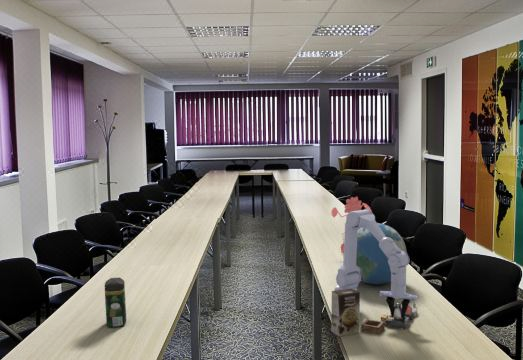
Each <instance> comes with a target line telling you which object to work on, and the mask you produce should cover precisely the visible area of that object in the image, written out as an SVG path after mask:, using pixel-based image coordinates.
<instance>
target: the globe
mask: <svg viewBox="0 0 523 360" xmlns="http://www.w3.org/2000/svg"><path fill="white" fill-rule="evenodd" d="M376 223H377V224H378V226H379V227H380V229H381V230H382V232H383V233H384V235H385V236H386V237H389V238H391V239H393V242H394V243H395V244H396V245H397V247H398V248H399V249H400V250H402V251H404V252H406V253H407V254H408V252H407V246H406V244H405V240H404V239H403V237H402V236H401V234H399V232H398V231H397V230H396V229H394V227H391V226H390V225H387V224H384V223H379V222H376ZM388 260H389V259H388V258H387V256H386V255H385V254H384V252H383V251H382V250H381V248H380V247H379V241H378V240H377V239H376V238H375V237H374V236H373V235H372V233H371V232H370V231H369V230H368V229H366V228H360V229H358V234H357V255H356V266H357V267H358V268H359V269H360V275H361V281H362V283H366V284H369V285H384V284H386V283H391V270H390V266H389V264H388ZM361 281H360V282H361Z"/></svg>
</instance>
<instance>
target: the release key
mask: <svg viewBox="0 0 523 360" xmlns="http://www.w3.org/2000/svg"><path fill="white" fill-rule="evenodd" d="M387 318H388V319H391V320H393V318H391V317H389V314H387V313H386V314H384V313H383V314H382V315H381V316H380V321H383V322H384V325H386V319H387Z"/></svg>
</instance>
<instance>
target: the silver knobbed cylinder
mask: <svg viewBox="0 0 523 360" xmlns="http://www.w3.org/2000/svg"><path fill="white" fill-rule="evenodd" d="M401 303H402V302H396V303H395V305H394V315H393V320H394V321H401V322H403V318H402V306H401Z"/></svg>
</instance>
